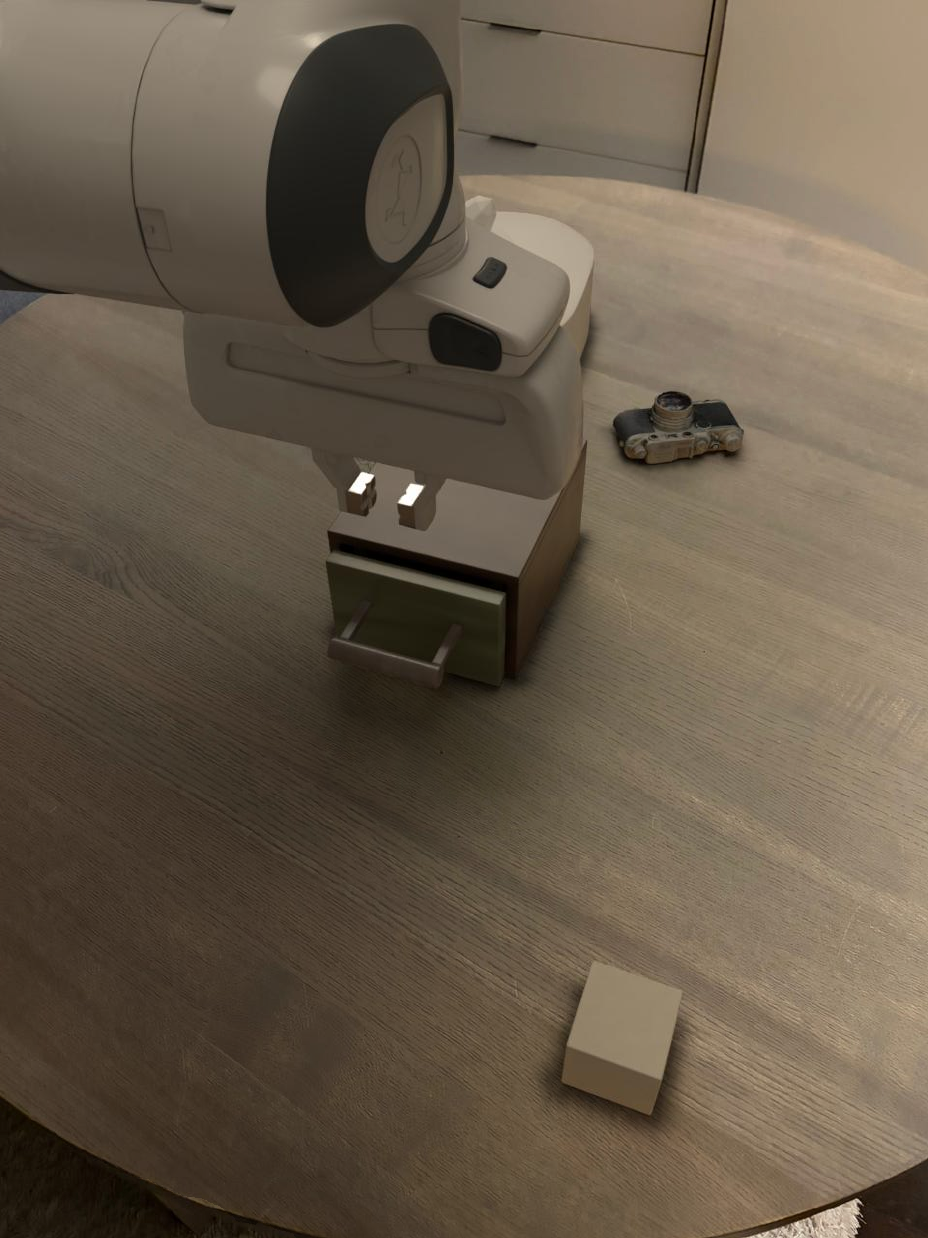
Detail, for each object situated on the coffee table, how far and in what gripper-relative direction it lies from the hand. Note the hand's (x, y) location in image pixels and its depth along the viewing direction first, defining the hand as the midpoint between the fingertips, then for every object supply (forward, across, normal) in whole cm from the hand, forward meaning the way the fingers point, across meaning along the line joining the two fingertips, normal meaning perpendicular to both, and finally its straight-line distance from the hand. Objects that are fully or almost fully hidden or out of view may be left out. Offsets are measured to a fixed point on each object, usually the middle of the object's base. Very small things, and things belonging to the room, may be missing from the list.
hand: (388, 514), depth 57 cm
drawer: (+14, 0, +6) cm, 16 cm away
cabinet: (+15, 0, +11) cm, 19 cm away
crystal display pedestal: (+15, -13, +41) cm, 45 cm away
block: (+15, +19, -18) cm, 30 cm away
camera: (+15, +10, +33) cm, 38 cm away
